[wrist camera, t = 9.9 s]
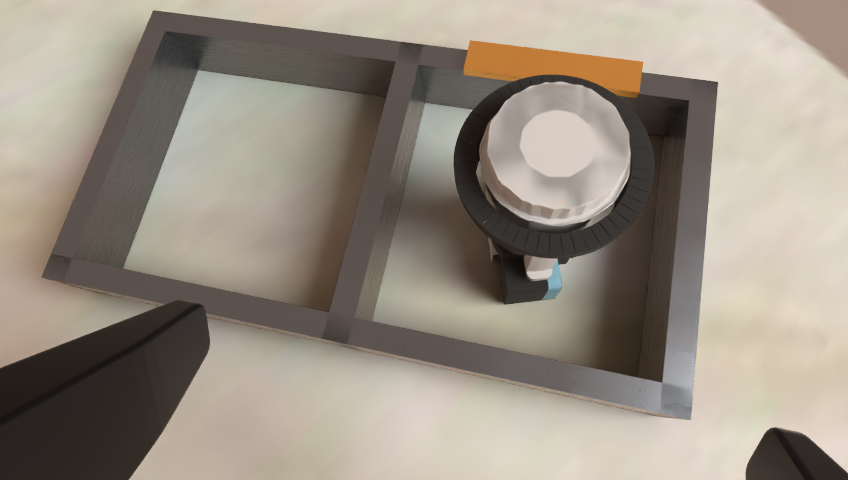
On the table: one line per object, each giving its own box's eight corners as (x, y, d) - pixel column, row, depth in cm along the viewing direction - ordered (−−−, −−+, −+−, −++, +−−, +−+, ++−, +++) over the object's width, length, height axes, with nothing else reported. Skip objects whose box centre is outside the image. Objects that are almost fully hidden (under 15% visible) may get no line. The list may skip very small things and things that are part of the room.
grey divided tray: (660, 417, 20) (695, 420, 17) (92, 291, 24) (33, 275, 21) (689, 116, 24) (722, 71, 21) (188, 47, 28) (149, 0, 24)
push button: (451, 173, 24) (435, 27, 15) (569, 157, 24) (630, -3, 14) (470, 317, 22) (465, 257, 13) (598, 302, 22) (692, 229, 12)
